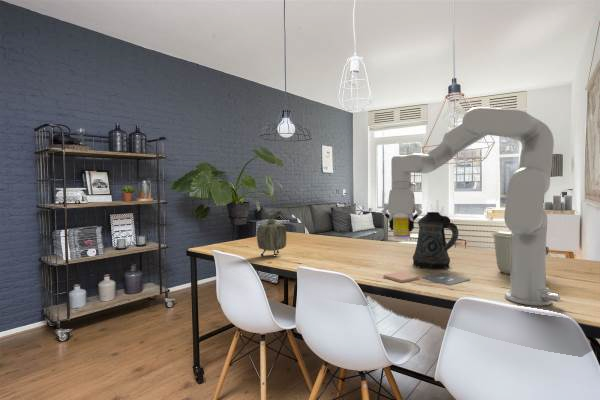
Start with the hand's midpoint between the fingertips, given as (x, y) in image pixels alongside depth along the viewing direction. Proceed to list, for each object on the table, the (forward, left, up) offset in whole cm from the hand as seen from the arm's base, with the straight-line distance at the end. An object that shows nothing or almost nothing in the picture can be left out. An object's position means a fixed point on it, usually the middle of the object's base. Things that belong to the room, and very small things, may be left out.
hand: (401, 230), depth 142 cm
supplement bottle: (0, 0, -4) cm, 4 cm away
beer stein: (+7, -30, -20) cm, 37 cm away
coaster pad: (0, 0, -20) cm, 20 cm away
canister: (-22, -45, -20) cm, 54 cm away
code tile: (-11, -13, -20) cm, 26 cm away
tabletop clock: (+73, +21, -20) cm, 79 cm away
